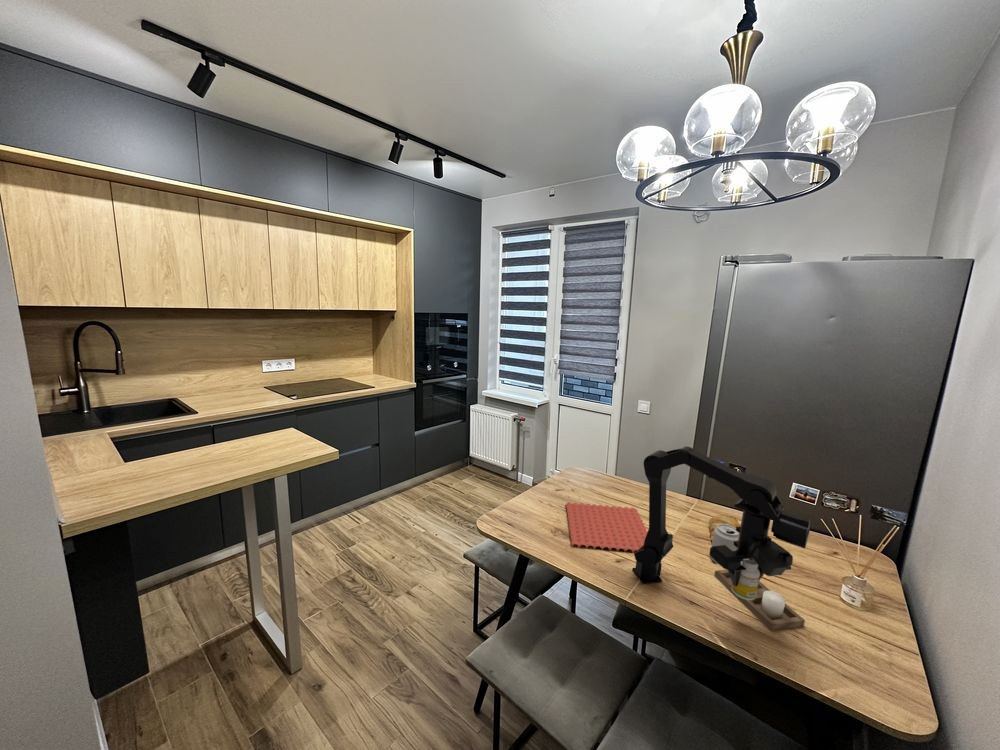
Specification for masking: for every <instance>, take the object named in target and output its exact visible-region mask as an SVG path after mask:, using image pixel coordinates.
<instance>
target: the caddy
mask: <svg viewBox="0 0 1000 750" xmlns="http://www.w3.org/2000/svg"><path fill="white" fill-rule="evenodd" d="M714 577H715V578H716V579H717V580H718V582H720V583H721V584H722V585H723V586H724V587H725V588H726V589H727V590H728V591H729V592H730V593H731V594H732V595H733V596H734V597H735V598H736V599H737V600H738V601H739V602H740V603H741V604H743V606H745V608H747V609H748V610H749V612H751V614H753V615H754V617H756V618H757V620H759V621H760V622H761V623H762V624H763V625H764V626H765V627H766V628H767V629H768V630H769V631H772V632H773V631H779V630H788V629H794V628H802V627H805V622H806V620H805V619H804V618H803V617H802V616H801V615H800V614H798V613H797V612H796V611H795V610H794V609H793V608H791V607H790V606H789V605H788V604H787V603H785V606H784V611H783V616H782V619H777V620H772V619H770V618H769V617H768V616H767V615H766V614H765V613H764V612H762V611H761V610H760V609H761V603H762V598H763V593H764V591H771V589H769V588H768V587H767V586H766V585H765V584H763V583H762V581H761V580H759V582H758V588H757V593H756V598H755V599H754V600H745V599H742V598H740V597H738V596H737V595H736V594H734V592H733V591H732V589H731V586H732V580H731V577H730V575H729V572H728V570H727V569H719V570H718V569H717V570H715V571H714Z"/></svg>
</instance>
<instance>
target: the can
mask: <svg viewBox="0 0 1000 750" xmlns="http://www.w3.org/2000/svg"><path fill="white" fill-rule="evenodd" d="M738 539H739V532H737V531H736V528H735V527H733V526H730V525H727V524H719V525H717V527H716V528H715V529H714V535H713V542H712V541H711V542H712V543H711V547H712V546H721V545H726V546H727V547H728V548H729V549H731V550H732V551H736V550H737V547H736V546H734V545H733V544H734V541H738ZM709 556H710V555H709ZM710 558H711V560H712V561H713V562H714V563H715V564H717V565H720V564H719V563H717V562H716V561H715V560H714V559H713V558H712V557H711V556H710Z"/></svg>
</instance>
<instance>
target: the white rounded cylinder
mask: <svg viewBox="0 0 1000 750" xmlns="http://www.w3.org/2000/svg"><path fill="white" fill-rule="evenodd" d="M785 604H786V599H785V598H784V596H782V595H781V594H779V593H777V592H775V591H773V590H770V591H764V593H763V598H762V603H761V609H760V610H761V611H762V612H764V613H765V614H766V615H767V616H768V617H769V618H770V619H772V620H777V619H782V616H783V611H784V606H785Z"/></svg>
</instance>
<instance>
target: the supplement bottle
mask: <svg viewBox="0 0 1000 750" xmlns="http://www.w3.org/2000/svg"><path fill="white" fill-rule="evenodd" d="M742 566H743V567H745V568H746V570H743V571H741V574H740V579H739V582H738V585H737V586H735V585H733V583H732V586H731V589H732V591H733V592H734V594H736V595H737V596H738V597H740V598H742V599H745V600H754V599H755V598H756V593H757V588H758V582H759V581H760V580H759V577H760V572H759V570H758V564H757V563H756V561H755V560H743V563H742Z"/></svg>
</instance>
